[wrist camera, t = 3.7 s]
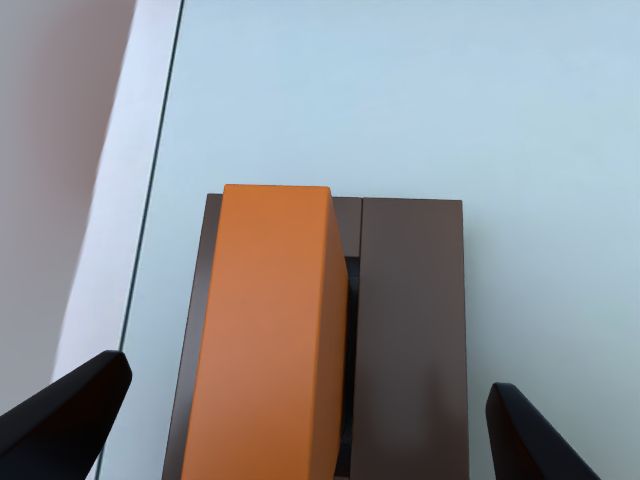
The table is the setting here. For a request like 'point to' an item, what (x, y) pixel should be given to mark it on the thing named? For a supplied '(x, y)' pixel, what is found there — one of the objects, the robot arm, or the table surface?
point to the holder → (378, 340)
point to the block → (272, 340)
